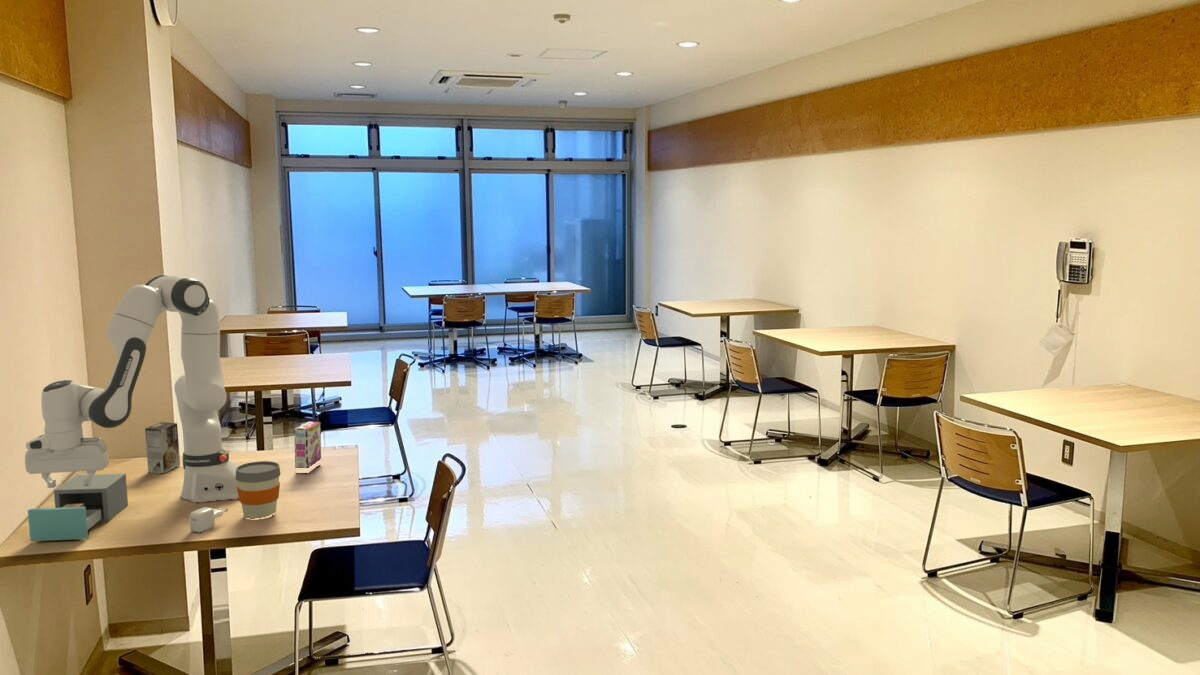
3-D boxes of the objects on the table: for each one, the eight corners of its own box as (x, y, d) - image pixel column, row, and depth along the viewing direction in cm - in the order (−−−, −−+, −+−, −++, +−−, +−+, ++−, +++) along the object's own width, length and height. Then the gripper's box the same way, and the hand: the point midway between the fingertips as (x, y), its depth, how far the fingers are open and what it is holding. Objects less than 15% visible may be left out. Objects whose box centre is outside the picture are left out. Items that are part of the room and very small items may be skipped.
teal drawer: (107, 520, 240) (105, 491, 238) (86, 538, 226) (83, 508, 225) (55, 522, 237) (53, 493, 236) (30, 541, 224) (27, 510, 223)
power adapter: (218, 518, 244) (217, 499, 243) (231, 521, 243) (230, 502, 242) (188, 531, 234) (186, 512, 233) (201, 534, 232) (200, 514, 231)
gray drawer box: (128, 505, 254) (125, 473, 252) (108, 521, 240) (106, 488, 239) (78, 507, 252) (76, 475, 250) (56, 523, 238) (53, 490, 237)
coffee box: (164, 465, 295) (161, 421, 292) (180, 466, 294) (178, 422, 291) (147, 472, 286) (144, 428, 283) (164, 474, 285) (161, 429, 283)
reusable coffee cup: (232, 513, 249) (230, 465, 247) (275, 504, 257) (273, 458, 254) (243, 525, 239) (241, 476, 237) (287, 516, 247) (285, 468, 245)
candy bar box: (308, 474, 287) (306, 429, 285) (294, 474, 287) (293, 428, 285) (322, 465, 298) (321, 421, 296) (309, 464, 298) (307, 420, 296)
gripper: (109, 433, 233) (114, 480, 236) (31, 437, 230) (37, 484, 232) (99, 440, 227) (105, 487, 229) (19, 444, 224) (25, 492, 226)
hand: (70, 486), depth 231 cm, fingers open, 8 cm apart
